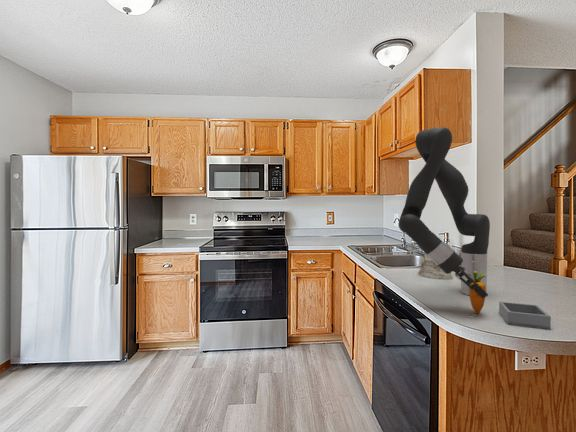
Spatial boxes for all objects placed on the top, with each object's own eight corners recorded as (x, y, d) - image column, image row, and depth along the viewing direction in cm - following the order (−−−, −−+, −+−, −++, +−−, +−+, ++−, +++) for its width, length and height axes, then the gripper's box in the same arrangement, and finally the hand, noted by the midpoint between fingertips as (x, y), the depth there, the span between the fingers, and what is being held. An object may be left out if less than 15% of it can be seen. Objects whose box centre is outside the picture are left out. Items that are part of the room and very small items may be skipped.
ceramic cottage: (452, 280, 147) (451, 249, 147) (416, 277, 155) (415, 248, 156) (453, 275, 160) (453, 247, 160) (420, 273, 168) (419, 246, 169)
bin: (499, 312, 104) (499, 301, 104) (537, 317, 100) (537, 305, 100) (507, 324, 94) (508, 311, 94) (550, 329, 90) (550, 316, 90)
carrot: (479, 311, 106) (479, 269, 105) (489, 316, 101) (489, 272, 100) (465, 311, 106) (465, 269, 105) (474, 317, 101) (475, 272, 100)
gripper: (455, 253, 99) (498, 293, 95) (450, 247, 112) (488, 282, 108) (437, 268, 101) (478, 308, 97) (434, 260, 114) (471, 295, 110)
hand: (483, 294), depth 102 cm, fingers closed on carrot, 4 cm apart
